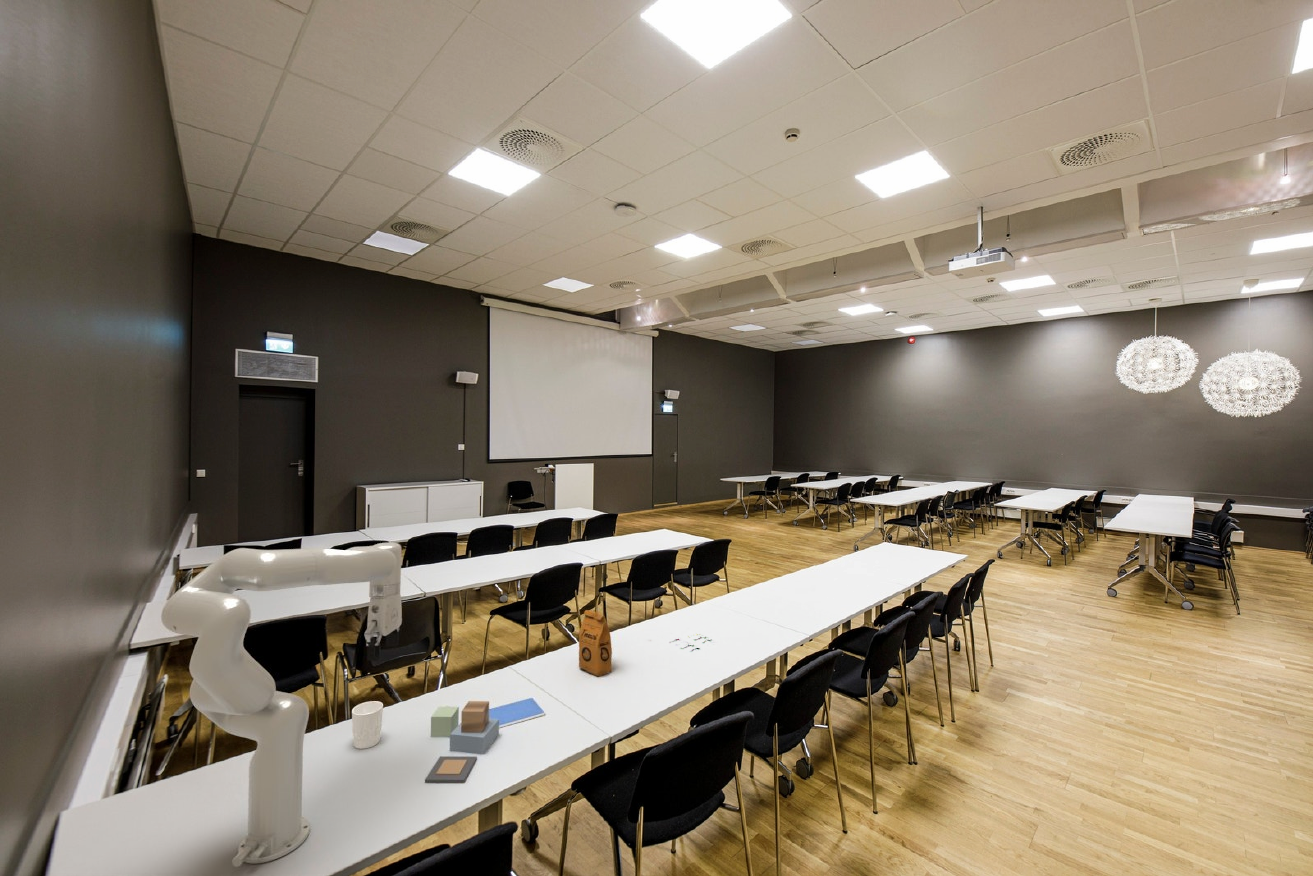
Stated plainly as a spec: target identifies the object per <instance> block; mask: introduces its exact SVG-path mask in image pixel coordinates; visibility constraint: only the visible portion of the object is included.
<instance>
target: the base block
mask: <svg viewBox="0 0 1313 876" xmlns="http://www.w3.org/2000/svg"><path fill="white" fill-rule="evenodd" d="M499 736H500V728H499V719H492V718H489V722H488V724H487V726H486V727H485V729H484V731H483V733H461V722H460V723H458V726H457V727H456V729H455V730H454V731H453V732H452V733H451V734H450V737H449V752H455V753H456V752H457V753H465V754H467V753H468V754H477V755H484V754H485V753H486V751H487V750H488V749H489V748H490V746H491V745H492V744H493V743H494V742H495V740H496V739H497V738H498V737H499Z"/></svg>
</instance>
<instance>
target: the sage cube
mask: <svg viewBox="0 0 1313 876" xmlns="http://www.w3.org/2000/svg"><path fill="white" fill-rule="evenodd" d="M459 709H460V707H459V706H438V707H437V708H436V709H435V711H434V712H433V714H432V715H431V716H430V738H450V734H451V733H452V732H453V731H454V730H455V729H456V727H457V726H458V725H459V719H460V718H459V717H460V716H459V714H460V713H459V711H460V710H459Z"/></svg>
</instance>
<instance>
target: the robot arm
mask: <svg viewBox="0 0 1313 876" xmlns="http://www.w3.org/2000/svg"><path fill="white" fill-rule="evenodd" d="M401 576H402V545H400V543H397V542H382V543H381V542H380V543H377V544H376V543H375V544H374V545H369V546H368V545H367V546H353V547H350V548H347V549H345V550H343V549H335V548H327V547H326V548H323V547H310V548H309V547H307V548H306V547H305V548H293V549H292V548H291V549H290V548H289V549H256V548H246V547H239V548H236V549H233V550H231V551H228V552H226V553H225V554H224V555H222V556H220V557H219V558H218V559H215V561H213V562H212V563H211V564H209V565H208V566H207V567H206V568H204V569H203V570H202V571H200V572H199V573H198V574H197V575H196V576H194V577H193V578H192V579H190V580H189V581H188V582H187V583H186V584H184V585H183V586H181V587H180V588H179V589H178V590H177V591H176V592H174V593H173V595H171V596H170V598H169V599H168V600H167V601H166V602H165V604H164V606H163V608H162V610H161V615H160V617H161V623H162V625H163V626H164V627H165V628H166V629H167V630H168V631H170V632H171V633H172V632H173V633H175V634H179V635H184V636H190V637H191V636H192V637H197V641H196V643H195V645H194V649H193V651H192V654H191V658H190V662H189V665H188V666H189V667H188V668H189V673H190V676H191V677H192V679H193V680H192V682H191V684H190V687H189V697H190V698H189V699H190V701H191V704H192V705H193V706H194V707H195V709H196V710H197V711H199V712H200V713H202V715H203V716H205V717H206V718H207V719H208V720H210V721H211V722H212V723H214V724H215V725H216V726H217V727H219V728H220V729H222V731H225V732H226V733H228V734H231V735H232V736H233V735H234V736H237V737H241V738H246V739H249V740H252V741H256V743H257V747H256V750H255V751H254V753H253V755H252V757H251V758H250V761H249V767H248V797H247V798H248V803H247V804H248V808H247V810H248V811H247V813H248V815H247V835H246V836H245V837H243V839H242V841H240V842H239V845H238V849H237V852H238V853H237V854H236V855H235V856H234V857H233V858H232V860H231V864H232V866H233V867H240V866H241V865H242V864H243V863H247V864H263V863H267V862H271V861H274V860H276V859H280V858H281V857H284V856H286V855H287V854H289V853H291V852H293V851H294V850H295V849H297V848H299V847H300V846H301V845H302V844H303V843H304V842H305V841H306V839H307V837H308V836H309V834H310V830H311V824H310V821H309V820H308V819H307V818H305V817H303V816H302V815H303V814H302V812H303V770H304V769H303V767H304V766H303V765H304V764H303V759H304V756H303V753H304V740H305V734H306V731H307V730H306V729H307V725H308V721H309V716H310V715H309V714H310V711H309V710H310V709H309V706H308V703H307V702H306V700H304V699H303V698H302V697H300V696H299V695H297V694H296V695H295V694H293V693H288V692H284V691H283V692H282V691H278V690H277V689H276V682H275V679H274V678H273V676H272V675H271V674H270V672H268V670H266V669H265V668H264V667H263V666H262V665H261V664H260V663H259V662H258V661H256V660H255V658H253V657H252V656H251V654H250V653H249V652H248V651H247V650H246V649H245V647H244V641H245V640H244V638H245V636H246V635H245V634H246V633H247V629H248V627H249V624H250V622H251V615H252V609H251V607H250V604H249V603H248V602H247V600H246V599H245V598H243V597H241V596H239V595H236V594H233V593H235V592H236V591H237V590H244V591H253V592H254V591H255V592H271V591H272V592H273V591H279V590H280V591H281V590H287V589H294V588H304V587H311V586H331V585H340V584H343V585H344V584H355V583H356V584H357V583H358V584H359V583H369V588H368V589H369V590H368V596H369V599H370V600H369V604H368V612H367V626H366V627H367V628H366V630H365V632H364V635H363V636H364V638H365V643H366V647H367V648H366V660H367V661H369V662H370V661H371V662H374V661H375V662H376V661H377V662H379V661H380V660H381V644H380V642H381V639H382V637H383V636H384V637H385V646H386V647H389V648H390V647H391V648H392V647H394V648H398V646H399V631H400V626H401V625H402V623H403V618H402V617H403V615H402V614H403V613H402V612H403V611H402V610H403V609H402V606H403V605H402V595H401V579H402V577H401ZM375 637H376V638H375Z"/></svg>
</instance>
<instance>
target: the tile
mask: <svg viewBox="0 0 1313 876" xmlns="http://www.w3.org/2000/svg"><path fill="white" fill-rule="evenodd" d="M477 760H478V756H462V755H461V756H459V755H457V756H453V755H451V756H450V755H448V756H442V755H441V756H439V758H438V759H437V760H436V762H435V764H434V765H433V766H432V768H431V770H430V771H429V773H428V774H427V776H426V777H425V779H424V783H426V784H429V783H430V784H431V783H432V784H434V783H435V784H439V783H441V784H464V783H465V782H466V781H467V778H468V777H469V775H470V773H471V771H472V769H473V768H474V765H475V763H476V762H477Z"/></svg>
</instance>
